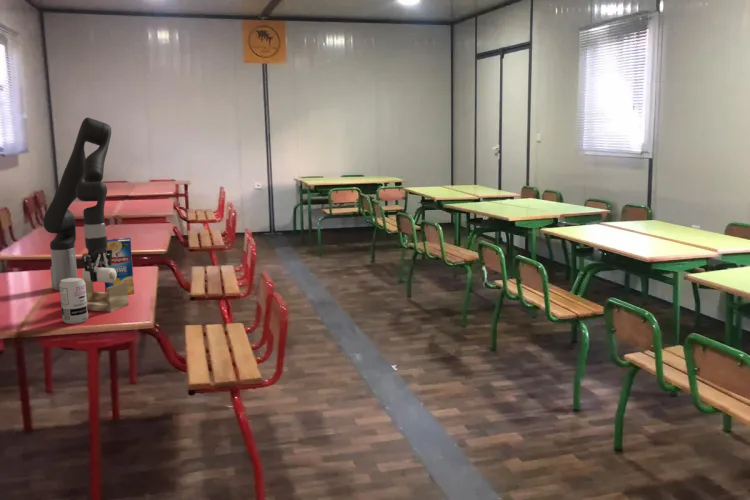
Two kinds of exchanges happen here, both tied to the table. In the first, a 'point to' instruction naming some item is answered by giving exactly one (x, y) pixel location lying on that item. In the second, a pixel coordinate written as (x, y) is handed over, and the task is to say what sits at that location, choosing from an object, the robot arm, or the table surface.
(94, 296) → the roll holder
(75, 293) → the supplement can
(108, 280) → the paper roll
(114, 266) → the beverage box
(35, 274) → the table surface
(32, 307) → the table surface
